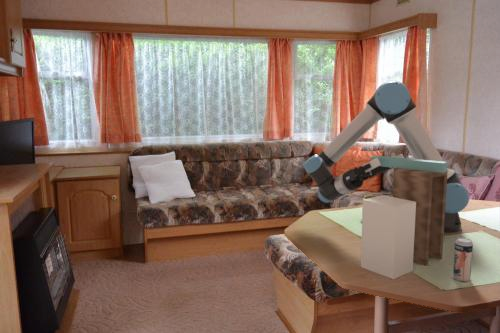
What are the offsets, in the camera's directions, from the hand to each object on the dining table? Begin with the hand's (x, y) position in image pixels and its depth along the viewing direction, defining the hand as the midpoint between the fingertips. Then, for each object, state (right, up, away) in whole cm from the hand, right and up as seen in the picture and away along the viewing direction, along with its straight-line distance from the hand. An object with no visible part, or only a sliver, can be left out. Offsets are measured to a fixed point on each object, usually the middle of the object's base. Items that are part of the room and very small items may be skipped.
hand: (391, 159), depth 150 cm
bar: (+3, -3, -6) cm, 8 cm away
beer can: (+14, -36, -21) cm, 44 cm away
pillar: (-6, -35, -12) cm, 37 cm away
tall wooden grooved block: (+7, -33, -3) cm, 34 cm away
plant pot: (+7, -25, +44) cm, 51 cm away
